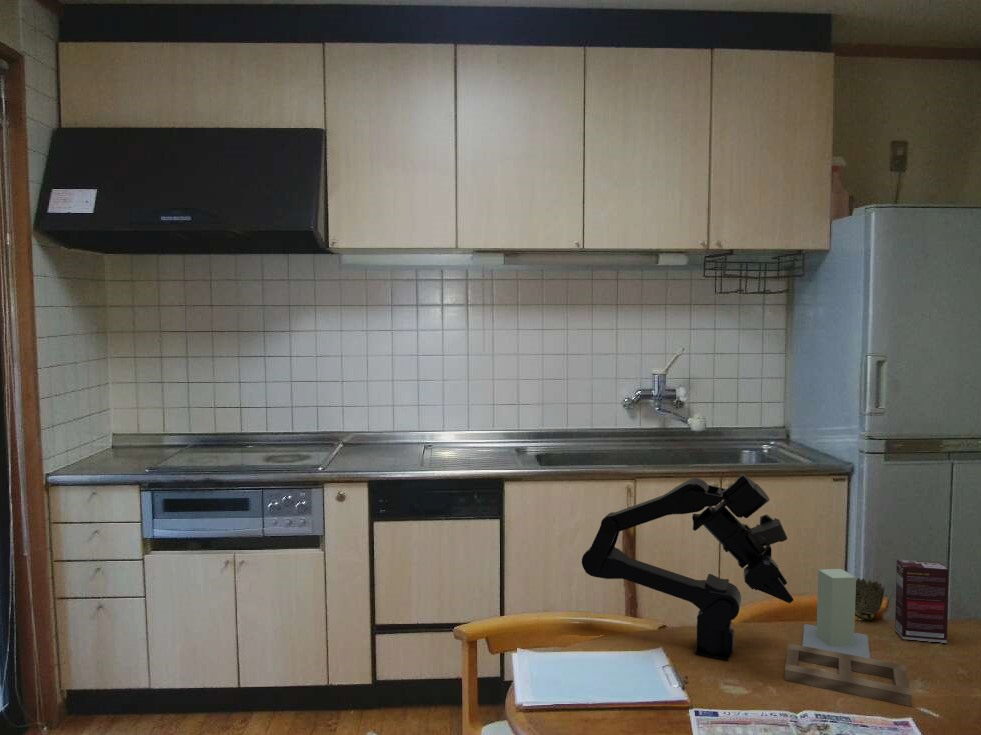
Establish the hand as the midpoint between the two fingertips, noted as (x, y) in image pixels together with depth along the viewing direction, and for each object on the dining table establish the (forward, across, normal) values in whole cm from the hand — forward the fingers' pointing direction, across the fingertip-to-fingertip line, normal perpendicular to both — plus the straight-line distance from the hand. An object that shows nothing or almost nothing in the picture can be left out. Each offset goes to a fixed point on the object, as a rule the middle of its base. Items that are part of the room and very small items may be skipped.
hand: (788, 592), depth 134 cm
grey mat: (+17, +10, +2) cm, 20 cm away
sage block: (+16, +10, +2) cm, 19 cm away
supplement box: (+30, +19, -10) cm, 37 cm away
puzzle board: (+16, -4, +3) cm, 17 cm away
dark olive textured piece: (+24, +27, -4) cm, 36 cm away
